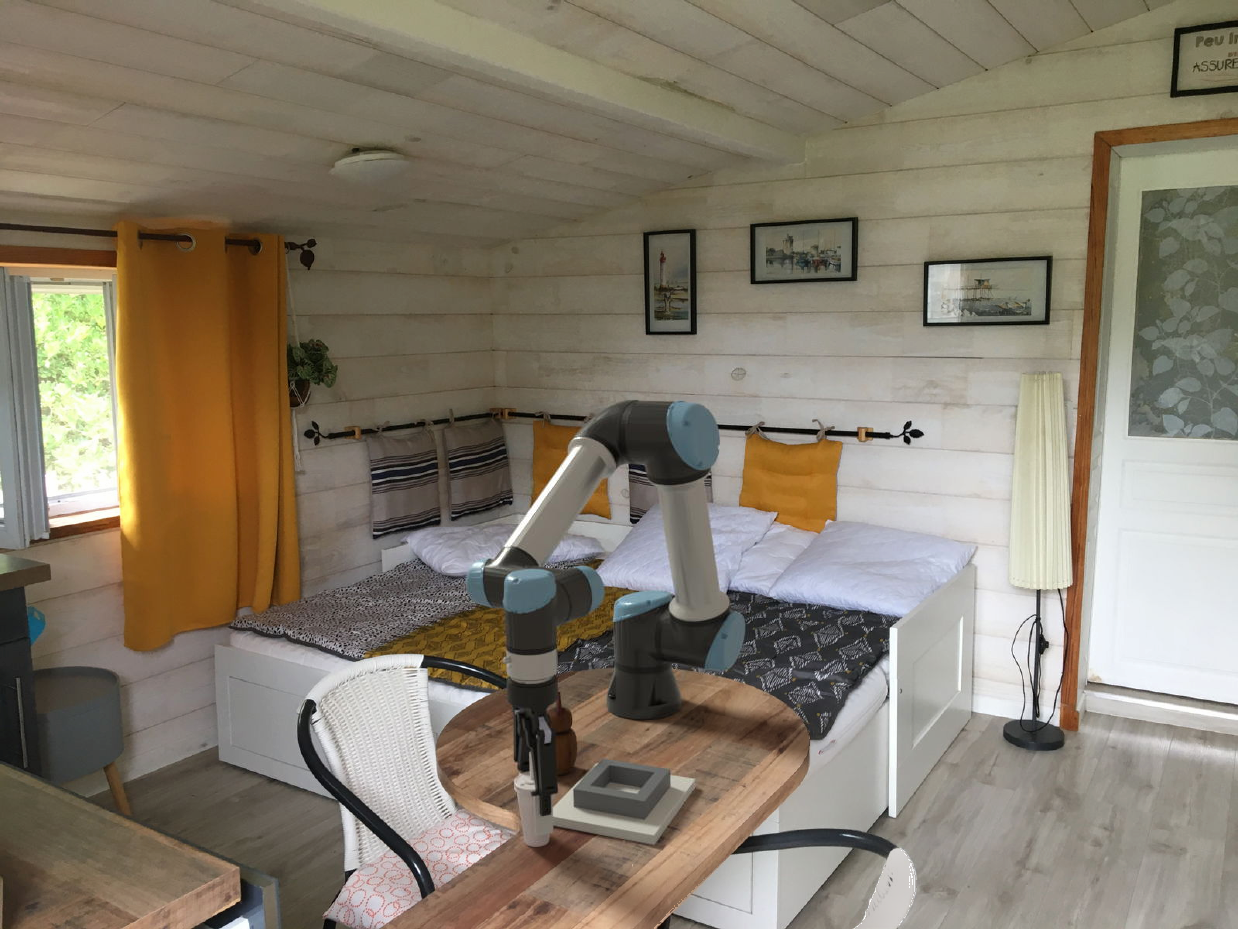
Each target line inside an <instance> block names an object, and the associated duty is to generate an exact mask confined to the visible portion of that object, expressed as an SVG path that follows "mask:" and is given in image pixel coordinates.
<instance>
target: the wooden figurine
mask: <svg viewBox="0 0 1238 929" xmlns="http://www.w3.org/2000/svg"><path fill="white" fill-rule="evenodd" d="M547 714H549V716H550V726H549V728H555V729H556V743H555V745H556V764H557V776H565V775H567V774H569V773H570V772H572V770H573V769H574V767H575V764H576V760H577V757H578V739H577V734H576V732H575V730H574V729H573V728H572V726H573V720H574V719H573V714H572V712H571V710H570V708H568V707H565V706H562V697H561V691H559V690H558V699H557V701H556V702H555V707H551V708H550V709H548V710H547Z"/></svg>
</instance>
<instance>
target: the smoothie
mask: <svg viewBox="0 0 1238 929" xmlns="http://www.w3.org/2000/svg"><path fill="white" fill-rule="evenodd" d="M529 760H530V772H527V773H524V774H521V775H519V774H518V775H517V776H516V778H514V781H513V782H514V783H513V784H514V785H513V788H514V789H513V790H514V791H515V792H516V796H517V801H518V809H519V814H520V820H521V828H522V833H523V839H524V844H525V845H527V846H528V847H532V848H537V847H538V848H539V847H543V846H545V845H548V843H549V842H550V834H551V833H548V834H544V835H539V836H536V835H535V834H534V802H533V797H532V795H531V792H533V791H535V781H534V773H533V765H532V757H531V751H530V752H529ZM552 797H553V799H554V797H555V794H552Z"/></svg>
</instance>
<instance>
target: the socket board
mask: <svg viewBox="0 0 1238 929" xmlns="http://www.w3.org/2000/svg"><path fill="white" fill-rule="evenodd" d="M696 786H697V785H696V778H691V777H685V776H680V775H675V774H674V775H672V774H671V769H670V768H666V767H659V766H653V765H646V764H639V763H634V762H629V761H621V760H616V759H611V758H604V757H603V758H601V760H600V761H599V762H596V763H595V764H594V765H593V766H592V767H591V768H590V769H589V770H588V771H587V772H586V773H585V774H584V775H583V776H582V777H581V778H580V779H579V780H578V781H577V782H576V783H575V784H574V785H573V786H572V788H570V789H569V791H567V792H566V793H565V795H564V796H563V797H562V798H561V799H559V801H558V802H557V803H556V804H555V805H553V827H559V828H563V829H569V830H573V831H574V830H575V831H579V832H585V833H589V834H597V835H601V836H606V837H610V838H616V839H623V840H626V841H632V842H637V843H642V844H648V845H653V846H655V844H656V843H657V842H658V841H659V839H660V837H661V836H662V835H663V833H664V832H665V831H666V829H667V827H668V826H669V825H670V823H671V822H672V821H673V819H674V818H675V817H676V815H677V814H678V812H679V811H680V810H681V808H682V807H683V806H682V805H684V804H685V803H686V802H687V800H688V799H689V797H690V796H691V794H692V793H693V792H694V790H695V789H696V788H695V787H696ZM692 791H693V792H692ZM689 795H690V796H689ZM687 798H688V799H687ZM684 802H685V803H684Z"/></svg>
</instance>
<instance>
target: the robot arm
mask: <svg viewBox="0 0 1238 929" xmlns="http://www.w3.org/2000/svg"><path fill="white" fill-rule="evenodd" d="M718 426H719V425H718V424H717V420H716V419H715V416H714V415H713V413H712V412H711V410H710V409H708V408H707V407H705V406H704V405H703V404H701V403H698V402H688V401H684V400H676V401H673V400H671V401H670V400H669V401H668V400H667V401H666V400H665V401H664V400H662V401H661V400H639V399H627V400H623V401H619V402H616V403H614V404H611V405H610V406H607V407H605V408H604V409H602V410H601V411H600V412H598V413H596V414H595V415H594V416H593V417H592V418H590V419H589V420H587V422H586V423H585V424H583V425H582V427H581V428H579V430H578V432H577V433H576V434H575V435H574V436H573V438H572V439H571V441H570V442H569V443H568V446H567V455H566V457H565V458H564V460H563V461H562V462H561V464H560V466H559V467H558V468H557V470H556V471H555V473H554V475H553V476H552V477H551V478H550V480H549V481H548V483H547V484H546V485H545V487H544V488H543V489H542V491H541V493H540V494H539V495H538V497H537V498H536V499H535V501H534V503H533V504H531V506H530V508H529V509H528V511H527V513H525V515H524V516H523V517H522V519H521V520H520V522H518V525H517V526H516V528H514V531H513V532H512V533H511V535H510V536H509V538H508V539H507V540H506V541H505V543H504V545H503V546H502V547H501V549H500V550H499V551H498V553H497V555H496V556H495V557H494V558H480V559H477V561H474V562H473V564H472V565H470V567H469V569H468V571H467V574H466V578H465V587H466V592H467V594H468V597H469V599H470V600H471V601H472V602H474V603H476V604H478V605H481V606H485V607H488V608H492V609H500V610H502V609H503V611H504V612H503V614H504V626H505V654H506V656H505V657H502V663H503V664H506V675H507V676H508V677H507V678H506V699H507V702H508V703H509V704H510V705H511V707H512V715H513V717H512V718H513V719H512V720H513V722H512V723H513V762H514V763H517V765H516V767H517V771H519V772H518V776H519V775H521V774H524V773H527V772H530V760H529V752H530V751H531V757H532V765H533V773H534V781H535V791H533V792H531V795H532V797H533V802H534V834H535V835H536V836H539V835H544V834H548V833H550V834H552V833H554V826H553V807H554V798H553V797H552V794H554V795H556V794H558V793H559V788H558V787H559V786H558V785H559V784H558V782H559V781H558V775H557V764H556V745H555V743H556V729H555V728H549V726H550V716H549V714H547V712H548V708H549V707H550V706H552V705H554V704H556V701H557V699H558V691H559V685H558V683H559V682H558V681H559V678H558V676H557V674H558V671H559V662H558V660H559V658H558V644H557V628H559V627H561V626H563V625H565V624H568V623H570V622H572V621H575V620H577V619H580V618H582V617H586V616H588V615H589V614H590V613H591V612H593V611H595V610H596V609H598V608H599V607H600V605H601V604H602V603H603V600H604V598H605V584H604V581H603V578H602V577H601V576H600V574H599V573H598V572H597V570H595V569H594V568H593V567H591V566H588V565H579V566H578V565H577V566H572V567H571V566H570V567H569V568H568V569H560V568H553V567H545V566H546V565H547V563H548V562H549V561H550V558H551V557H552V556H553V554H554V553H555V551H556V550H557V548H558V547H559V545H560V544H561V542H562V541H563V539H564V537H566V535H567V533H568V532H569V530H570V528H572V526H573V524H574V522H575V521H576V520H577V518H578V517H579V516H580V514H581V512H582V511H583V510H584V508H585V506H586V505H587V503H588V502H589V501H590V499H591V497H592V496H593V495H594V493H595V491H596V490H597V489H598V487H599V485H600V484H601V482H602V481H603V479H607V478H610V477H611V476H613V474H614V473H615V472H616V470H617V468H619V467H621V466H624V465H628V464H630V465H642V466H644V467H645V472H646V473H645V474H646V478H647V481H648V482H649V483H650V484H652V485H653V486H654V487H656V489H657V494H658V501H659V507H660V512H661V519H662V525H663V531H664V537H665V538H664V539H665V542H666V549H667V555H668V561H669V568H670V573H671V579H672V586H673V592H674V597H672V594H671V592H669V591H667V590H657V589H656V590H643V591H638V592H632V593H628V594H626V595H623V596H621V597H619V598H618V599H617V600H615V603H614V605H613V616H612V617H613V618H612V623H613V653H614V654H613V655H614V657H613V658H614V669H613V673H612V676H611V680H610V683H609V686H608V690H607V692H606V708H607V710H608V711H609V712H610V713H612V714H614V715H616V716H617V717H618V716H619V717H622V718H625V719H633V720H654V719H655V720H656V719H660V718H665V717H669V716H671V715H674V714H675V713H677V712H678V711H680V709H681V707H682V694H681V690H680V688H679V684H678V682H677V678H676V676H675V672H674V670H673V664H677V665H682V666H683V665H684V666H688V667H693V668H699V669H702V670H703V669H704V670H706V671H717V672H725V671H727V670H729V669H730V668H732V666H734V664H736V663H735V662H736V661H737V659H738V657H739V655H740V653H741V650H742V647H743V643H744V640H745V635H746V620H745V617H744V615H743V614H741V612H738V610H731V609H732V608H731V600H730V598H729V596H728V595H727V593H725V592H724V591H723V590H721V588H720V583H719V575H718V568H717V561H716V555H715V553H716V552H715V549H714V548H715V547H714V541H713V534H712V527H711V520H710V513H709V506H708V498H707V492H706V484H705V479H706V478H707V477H708V476H709V475H710V473H711V471H712V470H711V468H712V467H714V465H715V464H716V462H717V460H718V457H719V454H720V449H719V446H720V444H721V443H720V442H721V439H720V438H721V436H720V431H719V427H718Z"/></svg>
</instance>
